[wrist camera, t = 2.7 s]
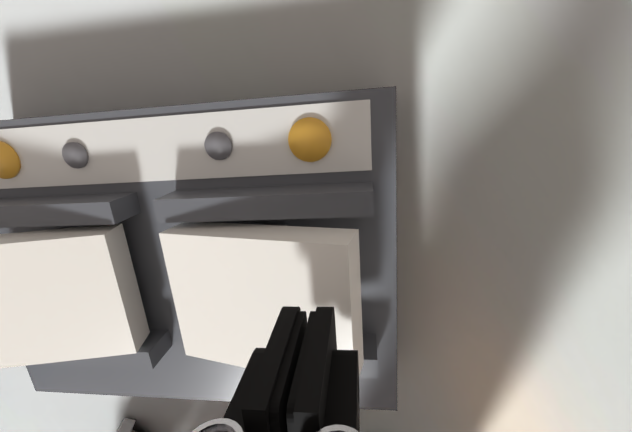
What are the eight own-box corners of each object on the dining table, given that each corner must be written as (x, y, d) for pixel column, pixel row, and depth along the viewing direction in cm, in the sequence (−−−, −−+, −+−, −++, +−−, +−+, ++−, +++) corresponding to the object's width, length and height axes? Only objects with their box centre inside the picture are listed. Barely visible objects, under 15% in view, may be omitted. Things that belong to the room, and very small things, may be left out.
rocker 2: (358, 229, 12) (347, 245, 11) (363, 362, 14) (355, 391, 13) (185, 221, 15) (158, 233, 14) (207, 333, 17) (185, 355, 15)
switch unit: (388, 91, 17) (400, 82, 11) (390, 357, 21) (400, 442, 16) (13, 123, 20) (-120, 128, 14) (86, 347, 25) (6, 415, 19)
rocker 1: (122, 223, 16) (104, 234, 14) (150, 332, 17) (136, 353, 16) (-58, 239, 15) (-97, 253, 14) (-11, 350, 17) (-41, 372, 15)
